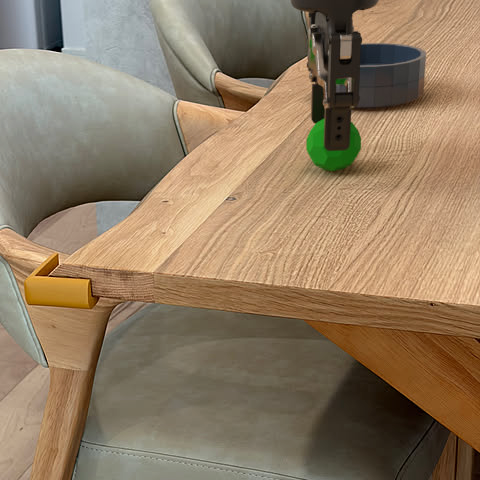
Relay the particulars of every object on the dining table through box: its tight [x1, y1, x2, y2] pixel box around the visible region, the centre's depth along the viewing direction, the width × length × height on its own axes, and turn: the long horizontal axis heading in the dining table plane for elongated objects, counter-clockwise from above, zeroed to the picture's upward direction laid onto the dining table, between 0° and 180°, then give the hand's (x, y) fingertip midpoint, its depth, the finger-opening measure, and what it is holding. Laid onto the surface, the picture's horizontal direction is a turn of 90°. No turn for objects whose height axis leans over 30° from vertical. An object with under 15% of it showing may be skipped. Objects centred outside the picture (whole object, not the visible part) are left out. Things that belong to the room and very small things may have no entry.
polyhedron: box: [305, 119, 362, 172], centre depth 85 cm, size 5×5×5 cm
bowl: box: [336, 42, 427, 110], centre depth 106 cm, size 12×12×5 cm
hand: (329, 135), depth 84 cm, fingers open, 8 cm apart
